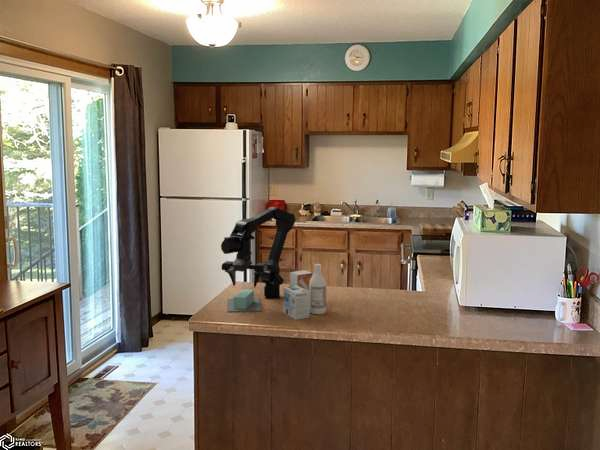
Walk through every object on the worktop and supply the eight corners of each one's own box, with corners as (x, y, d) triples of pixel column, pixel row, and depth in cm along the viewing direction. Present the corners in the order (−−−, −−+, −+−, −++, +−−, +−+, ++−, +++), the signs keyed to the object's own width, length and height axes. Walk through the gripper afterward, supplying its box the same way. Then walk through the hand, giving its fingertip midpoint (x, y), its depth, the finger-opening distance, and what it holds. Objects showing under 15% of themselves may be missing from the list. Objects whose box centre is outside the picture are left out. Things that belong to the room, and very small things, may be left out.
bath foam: (328, 313, 221) (329, 265, 218) (312, 315, 219) (313, 266, 216) (321, 308, 228) (322, 262, 225) (306, 310, 225) (306, 263, 222)
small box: (297, 304, 234) (297, 275, 232) (289, 300, 239) (289, 272, 237) (312, 301, 238) (312, 272, 236) (304, 298, 243) (304, 269, 241)
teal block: (242, 289, 237) (233, 296, 225) (253, 290, 236) (244, 297, 224) (242, 300, 238) (233, 308, 226) (253, 301, 236) (245, 309, 225)
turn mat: (259, 298, 241) (259, 298, 241) (261, 311, 224) (261, 310, 224) (227, 299, 240) (227, 298, 240) (226, 312, 222) (226, 311, 222)
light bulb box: (282, 312, 222) (283, 287, 221) (297, 310, 226) (297, 285, 224) (295, 320, 213) (295, 293, 212) (310, 317, 216) (310, 291, 215)
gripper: (216, 253, 224) (216, 289, 226) (259, 255, 220) (259, 292, 222) (226, 248, 235) (226, 283, 237) (267, 250, 230) (267, 286, 233)
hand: (244, 286), depth 232 cm, fingers open, 9 cm apart
